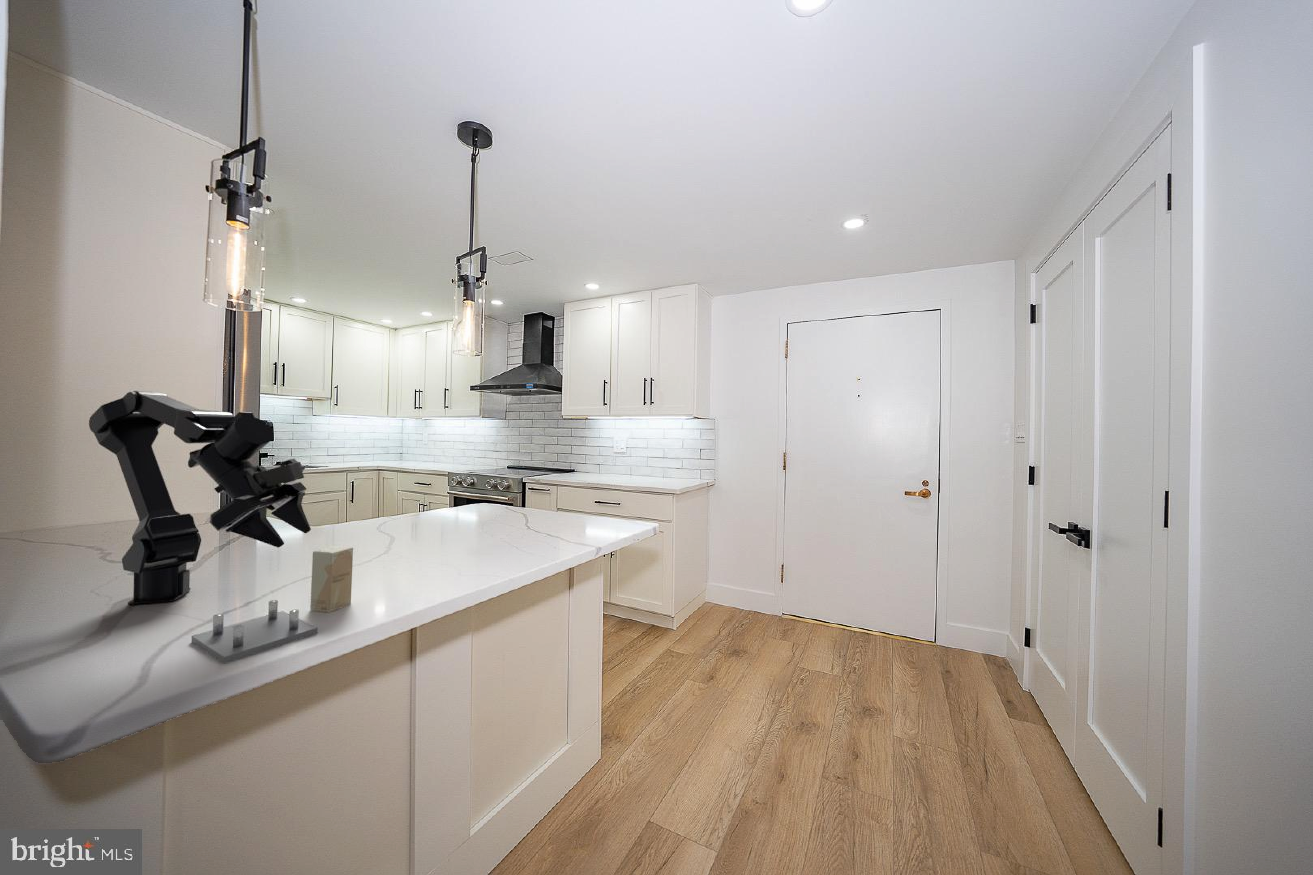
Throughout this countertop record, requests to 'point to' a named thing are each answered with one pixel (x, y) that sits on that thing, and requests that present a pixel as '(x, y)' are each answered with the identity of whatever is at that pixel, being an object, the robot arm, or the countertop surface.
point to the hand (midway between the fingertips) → (295, 538)
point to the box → (331, 578)
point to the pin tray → (253, 634)
